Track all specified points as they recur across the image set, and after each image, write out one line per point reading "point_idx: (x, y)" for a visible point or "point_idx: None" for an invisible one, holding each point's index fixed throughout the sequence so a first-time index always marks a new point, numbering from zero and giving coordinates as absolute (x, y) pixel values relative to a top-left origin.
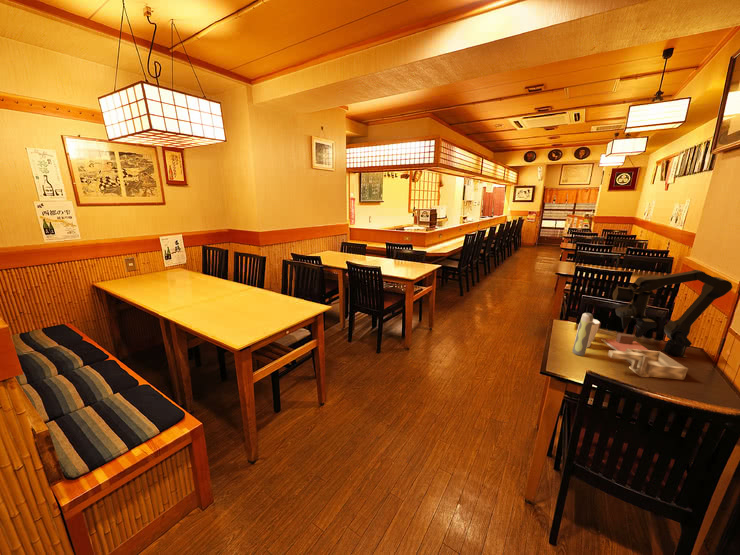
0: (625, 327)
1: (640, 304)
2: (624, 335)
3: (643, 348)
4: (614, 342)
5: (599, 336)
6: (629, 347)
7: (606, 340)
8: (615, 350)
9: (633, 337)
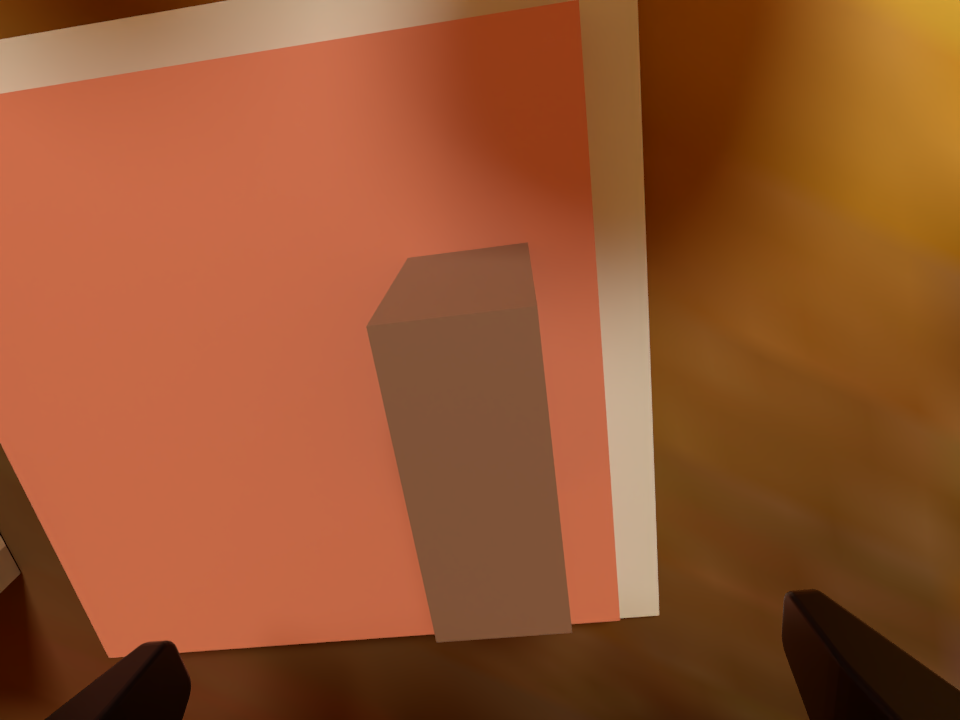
0: (813, 697)
1: None
2: (436, 441)
3: (324, 599)
4: (405, 155)
5: (881, 3)
6: (246, 377)
7: (530, 12)
8: (76, 31)
9: (435, 613)
